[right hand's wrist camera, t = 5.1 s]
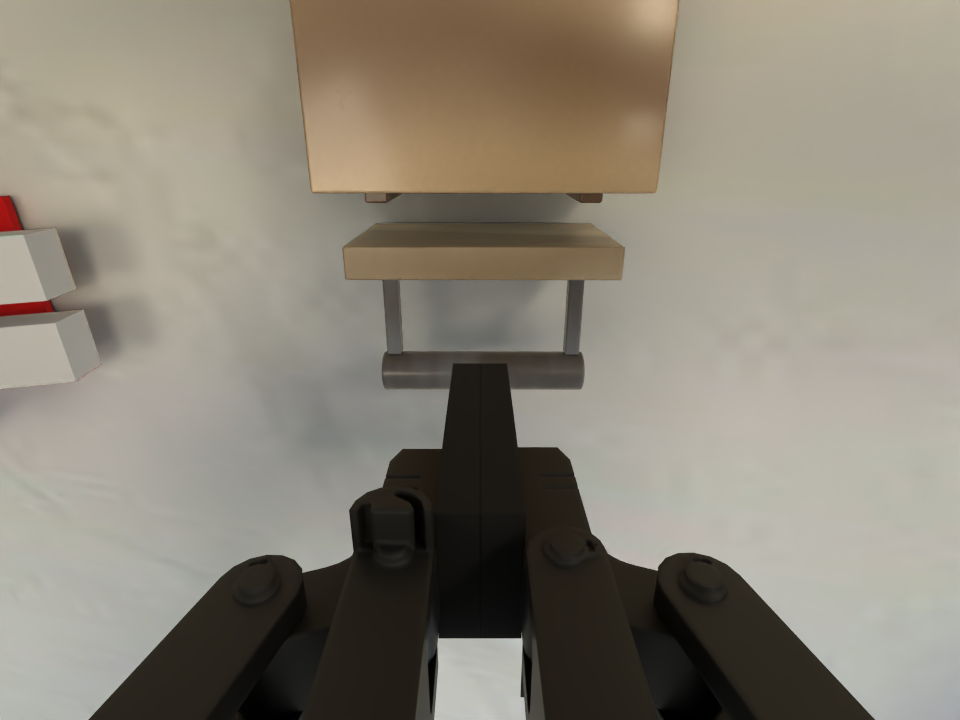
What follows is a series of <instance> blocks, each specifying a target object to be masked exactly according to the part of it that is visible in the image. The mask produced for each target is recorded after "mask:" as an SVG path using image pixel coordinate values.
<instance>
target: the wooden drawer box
mask: <svg viewBox="0 0 960 720" xmlns="http://www.w3.org/2000/svg"><path fill="white" fill-rule="evenodd" d="M290 7H291V16H292V25H293V34H294V43H295V52H296V61H297V70H298V79H299V88H300V97H301V106H302V115H303V124H304V133H305V142H306V151H307V160H308V169H309V178H310V187H311V192H312V193H656V192H657V186H658V178H659V169H660V161H661V152H662V144H663V135H664V127H665V118H666V110H667V101H668V93H669V84H670V76H671V67H672V58H673V50H674V41H675V33H676V24H677V16H678V7H679V0H290Z"/></svg>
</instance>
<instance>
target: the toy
mask: <svg viewBox="0 0 960 720" xmlns="http://www.w3.org/2000/svg"><path fill="white" fill-rule="evenodd" d="M75 289H76V286H75V283H74V280H73V277H72V274H71V271H70V268H69V265H68V262H67V259H66V256H65V253H64V250H63V247H62V244H61V241H60V239H59V236H58V233H57V230H56V228H49V229H35V230H22V227H21V225H20V222H19V220H18V217H17V214H16V212H15V209H14V207H13V204H12V201H11V199H10V196H0V389H7V388H17V387H27V386H37V385H48V384H58V383H68V382H76V381H78V380H79V379H81V378H82V377H84V376H85V375H87V374H88V373H90V372H91V371H92V370H94V369H95V368H97V367H98V366H100V365H101V364H102V363H101V360H100V357H99V354H98V351H97V348H96V346H95V343H94V340H93V337H92V334H91V331H90V328H89V325H88V322H87V319H86V316H85V313H84V310H72V311H60V312H54V310H53V308H52V305H51V303H50V299H53V298H55V297H58V296H60V295H62V294H65V293H67V292H70V291H72V290H75Z"/></svg>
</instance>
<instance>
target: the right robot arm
mask: <svg viewBox="0 0 960 720" xmlns="http://www.w3.org/2000/svg"><path fill="white" fill-rule="evenodd" d="M349 513H350V522H351V531H352V541H353V550H354V552H353V555H352V556H351V557H350V558H348V559H346V560H344V561H342V562H340V563H338V564H335V565H332V566H329V567H325V568H321V569H317V570H313V571H309V572H305V573H302V568H301V567H300V566H299V565H298V564H297V562H296V561H295V560H293V559H291V558H288V557H285V556H283V555H265V556H260V557H256V558H251V559H249V560H247V561H245V562H242V563H240V564H238V565H236V566H234V567H233V568H232V569H230V570H229V571H228V572H227V573H225V574H224V575H223V576H222V577H221V578H220V579H219V580H218V581H217V582H216V583H215V584H214V585H213V586H212V587H211V588H210V589H209V591H208V592H207V593H206V594H205V595H204V596H203V597H202V598H201V599H200V600H199V601H198V602H197V603H196V605H195V606H194V607H193V608H192V609H191V610H190V611H189V612H188V613H187V614H186V615H185V616H184V617H183V619H182V620H181V621H180V622H179V623H178V624H177V625H176V626H175V627H174V628H173V629H172V630H171V631H170V633H169V634H168V635H167V636H166V637H165V638H164V639H163V640H162V641H161V642H160V643H159V644H158V645H157V647H156V648H155V649H154V650H153V651H152V652H151V653H150V654H149V655H148V656H147V657H146V658H145V659H144V661H143V662H142V663H141V664H140V665H139V666H138V667H137V668H136V669H135V670H134V671H133V672H132V673H131V675H130V676H129V677H128V678H127V679H126V680H125V681H124V682H123V683H122V684H121V685H120V686H119V687H118V689H117V690H116V691H115V692H114V693H113V694H112V695H111V696H110V697H109V698H108V699H107V700H106V701H105V703H104V704H103V705H102V706H101V707H100V708H99V709H98V710H97V711H96V712H95V713H94V714H93V715H92V717H91V718H90V719H89V720H434V713H435V700H436V687H437V674H438V650H437V642H438V633H439V638H521V633H522V640H523V650H522V675H521V697H524V699H525V712H526V720H875V719H874V718H873V717H872V716H871V715H870V714H869V713H868V712H867V711H866V710H865V709H864V708H863V706H862V705H861V704H860V703H859V702H858V701H857V700H856V699H855V698H854V697H853V696H852V695H851V694H850V693H849V692H848V690H847V689H846V688H845V687H844V686H843V685H842V684H841V683H840V682H839V681H838V680H837V679H836V678H835V677H834V675H833V674H832V673H831V672H830V671H829V670H828V669H827V668H826V667H825V666H824V665H823V664H822V663H821V662H820V660H819V659H818V658H817V657H816V656H815V655H814V654H813V653H812V652H811V651H810V650H809V649H808V648H807V647H806V645H805V644H804V643H803V642H802V641H801V640H800V639H799V638H798V637H797V636H796V635H795V634H794V633H793V632H792V630H791V629H790V628H789V627H788V626H787V625H786V624H785V623H784V622H783V621H782V620H781V619H780V618H779V617H778V616H777V614H776V613H775V612H774V611H773V610H772V609H771V608H770V607H769V606H768V605H767V604H766V603H765V602H764V601H763V599H762V598H761V597H760V596H759V595H758V594H757V593H756V592H755V591H754V590H753V589H752V588H751V587H750V586H749V584H748V583H747V582H746V581H745V580H744V579H743V578H742V577H741V576H740V575H739V574H738V573H736V572H735V571H734V570H733V569H732V568H730V567H729V566H728V565H727V564H725V563H723V562H720V561H718V560H716V559H714V558H712V557H710V556H705V555H701V554H696V553H677V554H675V555H672V556H669V557H667V558H665V559H664V561H663V562H662V563H661V564H660V565H659V567H658V571H656V570H652V569H647V568H643V567H639V566H635V565H632V564H628V563H625V562H622V561H620V560H618V559H616V558H614V557H612V556H610V555H609V554H608V553H607V551H606V549H605V548H604V546H603V544H602V543H601V541H600V540H599V539H598V538H596V537H595V536H594V535H593V534H591V531H590V527H589V524H588V520H587V517H586V513H585V510H584V506H583V503H582V500H581V496H580V493H579V489H578V486H577V482H576V479H575V477H574V472H573V468H572V465H571V461H570V459H569V458H568V457H567V456H566V455H565V454H564V453H563V452H562V451H560V450H559V449H558V448H557V447H518V446H517V438H516V430H515V422H514V414H513V406H512V399H511V391H510V383H509V375H508V367H507V363H453V367H452V375H451V383H450V391H449V399H448V406H447V414H446V422H445V430H444V438H443V446H442V449H402V450H401V451H400V452H399V453H398V454H397V455H396V456H395V457H394V458H393V459H392V460H391V461H390V464H389V467H388V470H387V474H386V479H385V481H384V484H383V487H382V488H379V489H376V490H373V491H370V492H367V493H366V494H364V495H363V496H361V497H360V498H359V499H357V500H356V501H355V502H354V504H353V505H352V507H351V508H350V510H349Z"/></svg>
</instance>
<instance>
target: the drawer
mask: <svg viewBox="0 0 960 720" xmlns="http://www.w3.org/2000/svg"><path fill="white" fill-rule="evenodd" d="M401 194H403V193H365V201H366V202H367V203H387V202H389V201H390V200H392V199H394V198H396V197H397V196H399V195H401ZM565 194H567V195H568V196H570V197H572V198H574V199H575V200H577V201H579V202H581V203H600V202H602V196H603V193H565ZM342 249H343V259H344V270H345V279H346V280H383V292H384V307H385V322H386V336H387V351H386V352H385V353H384V356H383V361H382V380H383V385H384V388H385V389H450V383H451V375H452V367H453V363H507V367H508V375H509V383H510V389H564V390H580V389H582V387H583V383H584V358H583V355H582V353H581V352H579V345H580V332H581V318H582V304H583V291H584V280H621V279H622V273H623V263H624V253H625V247H623V246H622V245H620V244H619V243H618V242H616V241H615V240H613V239H612V238H611V237H609V236H608V235H606V234H605V233H604V232H602V231H601V230H599V229H598V228H596V227H595V226H594V225H592V224H569V223H376V224H374V225H373V226H372V227H370V228H369V229H367V230H366V231H365V232H363V233H362V234H360V235H359V236H358V237H356V238H355V239H353V240H352V241H351V242H349V243H348V244H346V245H345V246H344V247H343V248H342ZM399 280H567V296H566V312H565V328H564V345H563V350H564V352H506V351H403V336H402V318H401V301H400V283H399Z"/></svg>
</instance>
